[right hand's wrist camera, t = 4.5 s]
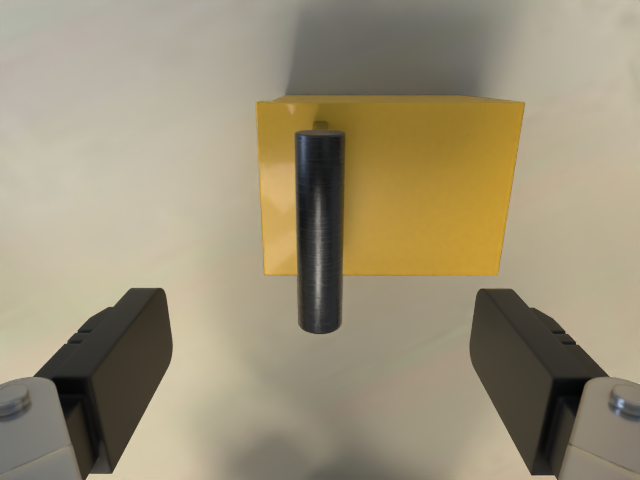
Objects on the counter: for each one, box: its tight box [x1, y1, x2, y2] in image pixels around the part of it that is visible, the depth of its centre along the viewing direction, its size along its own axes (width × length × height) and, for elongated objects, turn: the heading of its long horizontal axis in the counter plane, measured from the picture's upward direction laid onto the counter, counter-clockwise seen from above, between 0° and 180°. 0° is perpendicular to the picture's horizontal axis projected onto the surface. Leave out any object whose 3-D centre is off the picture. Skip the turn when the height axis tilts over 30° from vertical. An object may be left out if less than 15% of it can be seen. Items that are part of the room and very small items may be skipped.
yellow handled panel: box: [256, 101, 525, 334], centre depth 20 cm, size 14×10×9 cm
